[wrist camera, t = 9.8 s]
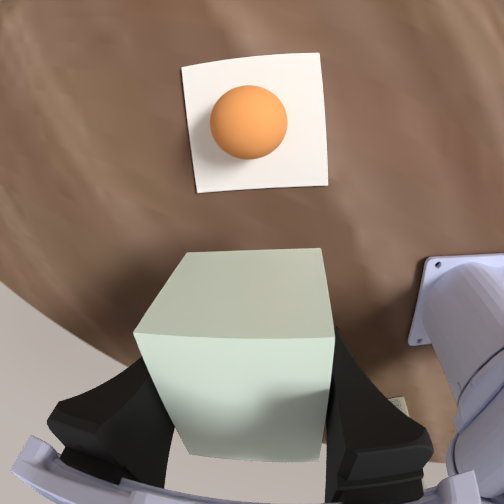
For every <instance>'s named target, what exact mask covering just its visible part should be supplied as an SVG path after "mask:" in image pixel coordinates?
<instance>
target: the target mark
mask: <svg viewBox="0 0 504 504" xmlns="http://www.w3.org/2000/svg"><path fill="white" fill-rule="evenodd" d="M182 76H183V86H184V95H185V104H186V112H187V121H188V129H189V136H190V144H191V152H192V159H193V166H194V173H195V180H196V187H197V193H202V192H214V191H227V190H242V189H257V188H275V187H297V186H328V166H327V143H326V125H325V110H324V97H323V85H322V74H321V64H320V55H319V53H297V54H278V55H265V56H254V57H245V58H236V59H229V60H222V61H215V62H209V63H203V64H197V65H192V66H187V67H182ZM245 85H253V86H259V87H262V88H265V89H267V90H269V91H270V92H272V93H273V94H274V95H276V96H277V97H278V98H279V100H280V101H281V102H282V104H283V106H284V108H285V110H286V114H287V121H288V126H287V131H286V134H285V137H284V139H283V141H282V142H281V144H280V145H279V146H278V147H277V148H276V149H275V150H274V151H273V152H272V153H270V154H268V155H266V156H264V157H261V158H258V159H250V160H246V159H240V158H236V157H233V156H231V155H229V154H228V153H226V152H225V151H223V150H222V149H221V148H220V147H219V146H218V144H217V143H216V142H215V140H214V138H213V136H212V133H211V128H210V116H211V112H212V109H213V107H214V105H215V103H216V102H217V101H218V99H219V98H220V97H221V96H222V95H223V94H225V93H226V92H227V91H229V90H231V89H233V88H236V87H239V86H245Z"/></svg>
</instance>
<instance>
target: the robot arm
mask: <svg viewBox="0 0 504 504" xmlns="http://www.w3.org/2000/svg"><path fill="white" fill-rule="evenodd" d="M437 262H439V264H438V265H437V266H435V264H436V263H437ZM334 332H335V345H334V355H333V364H332V373H331V382H330V390H329V398H328V405H327V412H326V428H327V461H326V488H325V503H323V504H504V253H497V254H478V255H457V256H436V257H429V258H427V259H426V261H425V263H424V269H423V274H422V280H421V285H420V290H419V295H418V299H417V304H416V308H415V313H414V317H413V321H412V325H411V329H410V333H409V337H408V343H409V345H410V346H415V345H424V344H432V346H433V348H434V350H435V353H436V355H437V357H438V359H439V362H440V364H441V366H442V369H443V371H444V374H445V376H446V378H447V381H448V383H449V386H450V389H451V391H452V394H453V396H454V399H455V402H456V404H457V407H458V412H457V414H456V416H455V417H454V418H453V422H454V425H455V428H456V431H457V433H456V434H455V435H454V437H453V438H452V440H451V441H450V443H449V446H448V449H447V453H446V467H447V472H448V476H449V477H447V478H445V479H443V480H442V481H441V482H440V483H439V484H438V485H437V486H436V487H432V488H428V489H423V485H422V478H423V477H424V473H423V467H424V466H425V465H426V463H427V462H428V461H429V460H430V458H431V457H432V455H433V453H434V450H433V445H432V441H431V439H430V436H429V434H428V432H427V430H426V428H425V427H423V426H422V425H420V424H419V423H417V422H416V421H414V420H413V419H411V418H410V417H408V416H407V415H406V414H404V413H403V412H402V411H401V410H399V409H398V408H397V407H396V406H395V405H394V404H393V403H392V402H390V401H389V400H388V399H387V398H386V397H385V396H384V395H383V394H382V393H381V392H380V391H379V390H378V389H377V387H376V386H375V385H374V384H373V383H372V382H371V380H370V379H369V378H368V377H367V375H366V374H365V373H364V371H363V370H362V369H361V367H360V366H359V364H358V363H357V361H356V360H355V358H354V357H353V355H352V354H351V352H350V350H349V349H348V347H347V345H346V343H345V341H344V339H343V337H342V335H341V333H340V331H339V328H337V327H334ZM418 339H420V340H418ZM47 425H48V426H49V429H50V430H51V431H52V433H53V434H54V435H55V436H56V437H57V438H58V439H59V440H60V441H61V442H62V443H63V444H64V446H65V449H64V451H63V452H62V454H59V453H57V452H56V450H55V449H54V448H53V447H52V446H51V445H49V444H48V443H46V442H45V441H42V440H41V439H39V438H37V437H35V436H32V435H31V436H30V437H29V439H28V441H27V442H26V444H25V446H24V447H23V449H22V451H21V452H20V454H19V456H18V458H17V459H16V461H15V463H14V465H13V466H12V468H11V471H12V473H14V474H15V475H16V476H17V477H19V478H20V479H21V480H22V481H23V482H25V483H26V484H27V485H29V486H30V487H31V488H33V489H34V490H35V491H37V492H38V493H39V494H41V495H43V496H45V497H46V498H48V499H50V500H51V501H53V502H55V503H57V504H267V503H252V502H241V501H231V500H223V499H214V498H209V497H202V496H196V495H191V494H185V493H180V492H175V491H171V490H166V489H164V484H165V477H166V469H167V463H168V457H169V451H170V445H171V441H172V437H173V433H174V428H175V426H174V424H173V422H172V420H171V418H170V416H169V414H168V412H167V410H166V408H165V406H164V404H163V402H162V400H161V397H160V395H159V393H158V391H157V389H156V387H155V384H154V382H153V380H152V378H151V375H150V373H149V371H148V369H147V366H146V364H145V362H144V359H143V357H141V358H139V359H138V360H137V361H136V362H135V363H133V364H132V365H131V366H130V367H128V368H127V369H126V370H124V371H123V372H121V373H120V374H118V375H117V376H115V377H114V378H112V379H110V380H109V381H107V382H105V383H103V384H101V385H100V386H98V387H96V388H94V389H92V390H89V391H87V392H85V393H83V394H80V395H78V396H75V397H72V398H69V399H66V400H63V401H59V402H58V404H57V405H56V407H55V409H54V410H53V412H52V413H51V415H50V416H49V418H48V420H47ZM268 504H269V503H268Z"/></svg>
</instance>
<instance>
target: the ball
mask: <svg viewBox="0 0 504 504" xmlns="http://www.w3.org/2000/svg"><path fill="white" fill-rule="evenodd" d="M287 126H288V121H287V114H286V110H285V108H284V106H283V104H282V102H281V101H280V100H279V98H278V97H277V96H276V95H274V94H273V93H272V92H270V91H269V90H267V89H265V88H262V87H259V86H253V85H245V86H239V87H236V88H233V89H231V90H229V91H227V92H226V93H225V94H223V95H222V96H221V97H220V98H219V99H218V101H217V102H216V103H215V105H214V107H213V109H212V112H211V116H210V128H211V133H212V136H213V138H214V140H215V142H216V143H217V144H218V146H219V147H220V148H221V149H222V150H223V151H225V152H226V153H228V154H229V155H231V156H233V157H236V158H240V159H246V160H250V159H258V158H261V157H264V156H266V155H268V154H270V153H272V152H273V151H274V150H275V149H276V148H277V147H278V146H279V145H280V144H281V142H282V141H283V139H284V137H285V134H286V131H287Z"/></svg>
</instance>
